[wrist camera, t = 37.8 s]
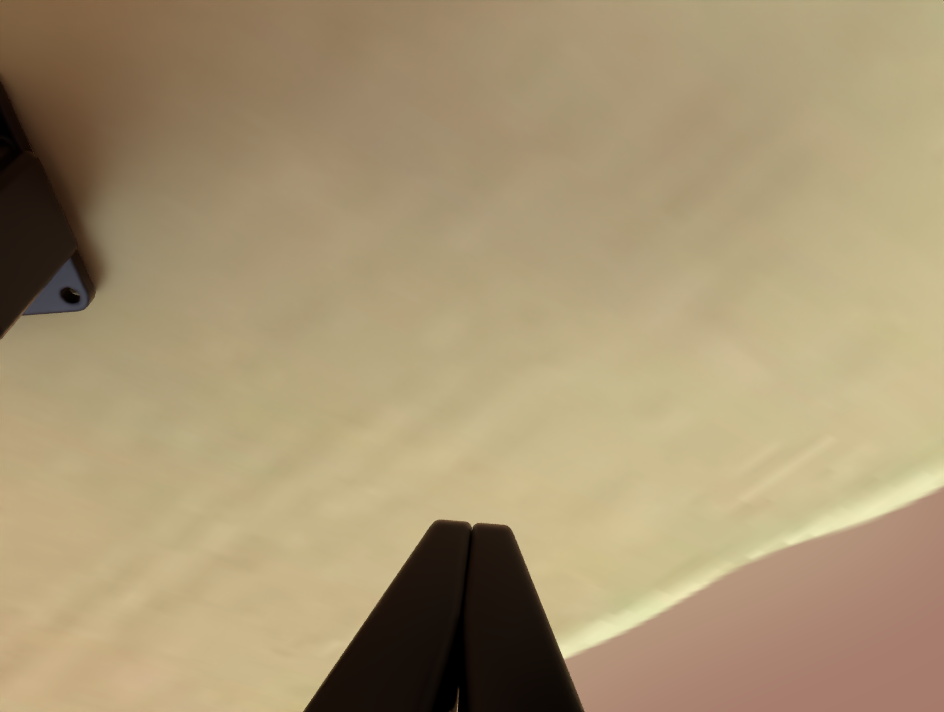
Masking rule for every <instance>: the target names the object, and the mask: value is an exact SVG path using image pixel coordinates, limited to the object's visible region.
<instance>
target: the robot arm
mask: <svg viewBox="0 0 944 712" xmlns="http://www.w3.org/2000/svg"><path fill="white" fill-rule="evenodd" d="M68 288H72V289H74V290H76V291H77V292H78V294H79V295H75V294H73V293H72V292H71V291H70V290H69V289H68ZM95 293H96V292H95V288H94V285H93V282H92V280H91V278H90V276H89V274H88V271H87V269H86V267H85V265H84V263H83V260H82V258H81V256H80V254H79V252H78V249H77V242H76V240H75V238H74V236H73V233H72V231H71V229H70V227H69V225H68V222H67V220H66V218H65V216H64V214H63V211H62V209H61V207H60V205H59V202H58V200H57V198H56V196H55V194H54V191H53V189H52V187H51V185H50V183H49V180H48V178H47V176H46V174H45V172H44V169H43V167H42V165H41V163H40V161H39V159H38V158H37V157H36V156H35V155H34V153H33V151H32V148H31V146H30V144H29V142H28V140H27V137H26V135H25V133H24V131H23V129H22V126H21V124H20V122H19V120H18V118H17V115H16V113H15V111H14V109H13V107H12V104H11V102H10V100H9V98H8V96H7V93H6V91H5V89H4V87H3V85H2V83H1V82H0V340H1V339H2V338H3V337H4V335H5V334H6V333H7V332H8V331H9V329H10V328H11V327H12V326H13V325H14V324H15V322H16V321H17V320H18V319H19V318H20V316H22V315H35V314H49V313H62V312H76V311H81V310H84V309H85V308H86V307H87V306H88V305H89V304H90V302H91V301H92V300H93V298H94V296H95ZM458 695H459V697H458ZM457 704H458V712H584V709H583V707H582V704H581V702H580V699H579V697H578V694H577V692H576V689H575V687H574V684H573V682H572V679H571V677H570V674H569V672H568V669H567V667H566V664H565V662H564V659H563V657H562V654H561V652H560V649H559V647H558V644H557V642H556V639H555V637H554V634H553V632H552V629H551V627H550V624H549V621H548V619H547V616H546V614H545V611H544V609H543V606H542V604H541V601H540V599H539V596H538V594H537V591H536V589H535V586H534V584H533V581H532V579H531V576H530V574H529V571H528V569H527V566H526V564H525V561H524V559H523V556H522V554H521V551H520V549H519V546H518V544H517V541H516V539H515V536H514V534H513V532H512V530H511V529H510V528H509V527H508V526H506V525H499V524H487V523H477V524H475V525H474V526H473V529H472V527H471V525H470V524H469V523H468V522H464V521H453V520H437V521H435V522H434V523H433V524H432V525H431V526H430V527H429V529H428V530H427V532H426V533H425V535H424V536H423V538H422V539H421V541H420V542H419V543H418V545H417V546H416V548H415V549H414V551H413V552H412V554H411V555H410V557H409V558H408V560H407V561H406V562H405V564H404V565H403V567H402V568H401V570H400V571H399V573H398V574H397V576H396V577H395V578H394V580H393V581H392V583H391V584H390V586H389V587H388V589H387V590H386V592H385V593H384V594H383V596H382V597H381V599H380V600H379V602H378V603H377V605H376V606H375V608H374V609H373V611H372V612H371V613H370V615H369V616H368V618H367V619H366V621H365V622H364V624H363V625H362V627H361V628H360V629H359V631H358V632H357V634H356V635H355V637H354V638H353V640H352V641H351V643H350V644H349V646H348V647H347V648H346V650H345V651H344V653H343V654H342V656H341V657H340V659H339V660H338V662H337V663H336V664H335V666H334V667H333V669H332V670H331V672H330V673H329V675H328V676H327V678H326V679H325V681H324V682H323V683H322V685H321V686H320V688H319V689H318V691H317V692H316V694H315V695H314V697H313V698H312V699H311V701H310V702H309V704H308V705H307V707H306V708H305V710H304V711H303V712H457Z"/></svg>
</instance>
